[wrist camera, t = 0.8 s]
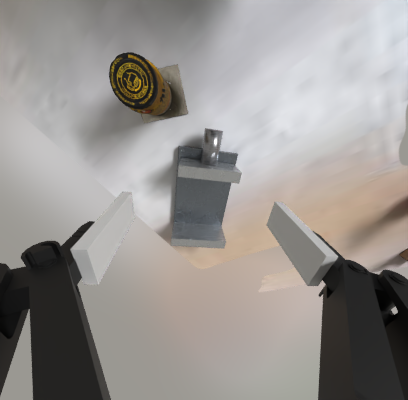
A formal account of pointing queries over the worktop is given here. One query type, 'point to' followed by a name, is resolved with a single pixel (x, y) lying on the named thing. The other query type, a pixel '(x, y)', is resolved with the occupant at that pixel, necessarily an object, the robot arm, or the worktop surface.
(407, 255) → the wooden block
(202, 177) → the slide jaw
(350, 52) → the worktop surface
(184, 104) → the condiment
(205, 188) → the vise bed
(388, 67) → the worktop surface
